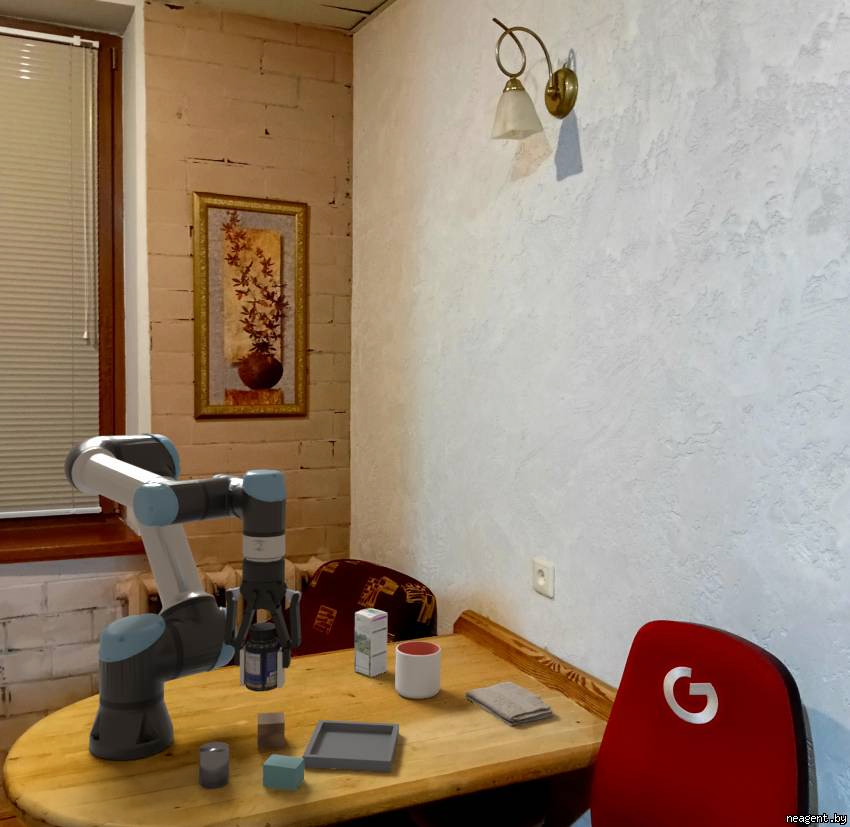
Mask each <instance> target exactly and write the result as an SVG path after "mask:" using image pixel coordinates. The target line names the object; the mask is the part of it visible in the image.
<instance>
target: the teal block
mask: <svg viewBox="0 0 850 827" xmlns="http://www.w3.org/2000/svg"><path fill="white" fill-rule="evenodd" d="M303 780H304V781H305V767H304V758H302V757H297V756H288V755H282V754H281V755H280V754H276V753H275V754H274V753H273V754H271V755H270V756H269V757H268V758H267V759H266V760H265V761H264V762H263V764H262V786H263V787H268V788H274V789H279V788H280V789H281V790H286V789H287V791H294V790H295V791H294V792H297V790H298V789H299V788H300V787H301V785H300V784H302V783H303V782H304V781H303ZM296 789H297V790H296Z"/></svg>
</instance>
